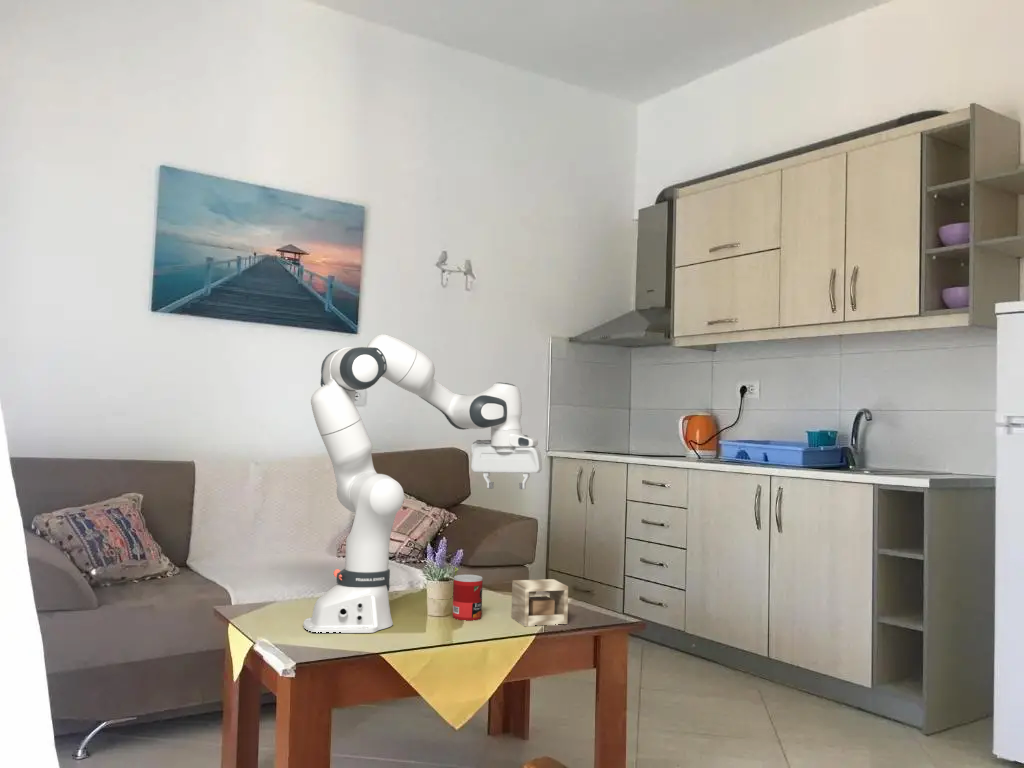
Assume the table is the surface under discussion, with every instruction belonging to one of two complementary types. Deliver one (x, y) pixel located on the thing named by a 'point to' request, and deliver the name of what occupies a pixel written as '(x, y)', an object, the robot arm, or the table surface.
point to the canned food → (467, 597)
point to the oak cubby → (522, 601)
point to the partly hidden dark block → (541, 606)
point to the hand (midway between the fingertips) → (506, 488)
